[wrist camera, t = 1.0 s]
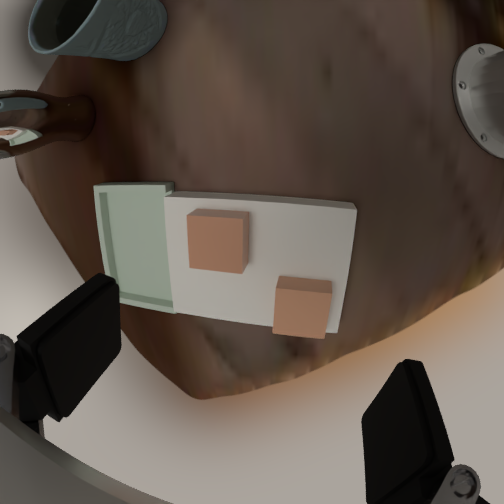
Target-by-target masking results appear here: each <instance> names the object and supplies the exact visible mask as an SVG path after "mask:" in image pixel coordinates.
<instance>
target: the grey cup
mask: <svg viewBox="0 0 504 504" xmlns="http://www.w3.org/2000/svg"><path fill="white" fill-rule="evenodd" d="M166 24H167V12H166V9H165V7H164V5H163V4H162V3H161V2H160V1H159V0H37V2H36V4H35V7H34V9H33V12H32V14H31V18H30V22H29V28H28V38H29V42H30V45H31V46H32V48H33V50H35V51H36V52H38V53H41V54H55V55H76V56H91V57H97V58H107V59H114V60H119V61H129V60H135V59H137V58H138V57H141V56H142V55H144V54H146V53H147V52H148V51H149V50H151V49H152V48H153V47H154V46H155V45H156V44H157V42H158V41H159V40H160V38H161V37H162V35H163V33H164V31H165V28H166Z"/></svg>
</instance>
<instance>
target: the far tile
mask: <svg viewBox="0 0 504 504" xmlns="http://www.w3.org/2000/svg"><path fill="white" fill-rule="evenodd" d="M331 299H332V282H331V281H328V280H317V279H307V278H297V277H287V276H279V278H278V282H277V285H276V291H275V306H274V320H273V333H274V334H282V335H290V336H300V337H309V338H320V339H324V338H325V332H326V327H327V322H328V316H329V310H330V305H331Z"/></svg>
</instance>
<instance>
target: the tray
mask: <svg viewBox="0 0 504 504" xmlns="http://www.w3.org/2000/svg"><path fill="white" fill-rule="evenodd" d="M171 193H174V182H110V183H101V184H98V185H95V186H94V197H95V207H96V216H97V224H98V231H99V238H100V245H101V251H102V257H103V263H104V269H105V274H106V275H107V276H110V277H113V278H114V279H115V280H116V284H118V285H119V291H120V303H124V304H129V305H133V306H138V307H143V308H148V309H153V310H158V311H163V312H169V313H174V314H176V313H177V312H174V308H173V300H172V292H171V283H170V273H169V263H168V252H167V240H166V227H165V211H164V197H165V196H167V195H169V194H171Z"/></svg>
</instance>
